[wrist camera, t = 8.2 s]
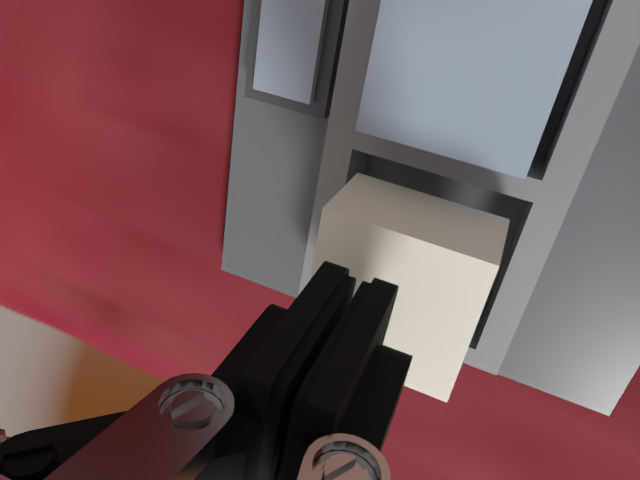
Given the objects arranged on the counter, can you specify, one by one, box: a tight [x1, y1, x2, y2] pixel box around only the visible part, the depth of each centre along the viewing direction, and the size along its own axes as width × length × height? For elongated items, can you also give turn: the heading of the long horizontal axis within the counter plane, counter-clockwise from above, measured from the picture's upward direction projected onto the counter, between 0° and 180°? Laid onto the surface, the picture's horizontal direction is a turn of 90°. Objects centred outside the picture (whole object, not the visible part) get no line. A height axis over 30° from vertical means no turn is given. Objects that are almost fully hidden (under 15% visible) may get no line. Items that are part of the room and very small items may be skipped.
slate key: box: [355, 0, 593, 179], centre depth 13 cm, size 4×4×2 cm
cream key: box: [309, 173, 510, 402], centre depth 14 cm, size 4×4×2 cm
